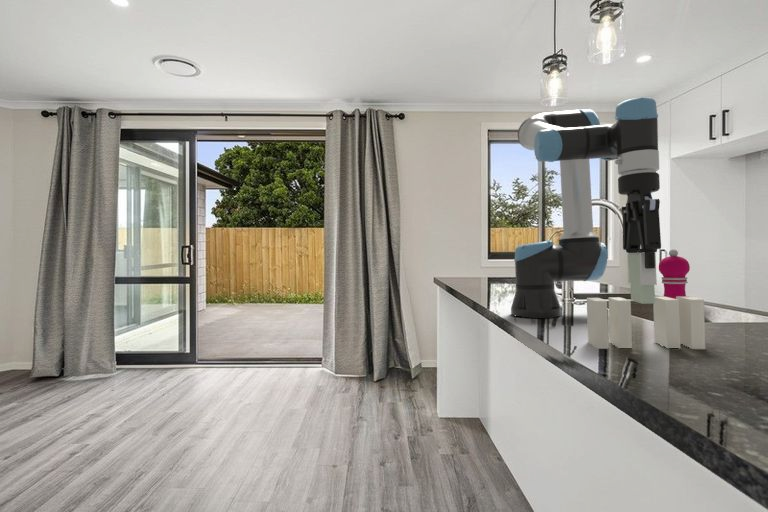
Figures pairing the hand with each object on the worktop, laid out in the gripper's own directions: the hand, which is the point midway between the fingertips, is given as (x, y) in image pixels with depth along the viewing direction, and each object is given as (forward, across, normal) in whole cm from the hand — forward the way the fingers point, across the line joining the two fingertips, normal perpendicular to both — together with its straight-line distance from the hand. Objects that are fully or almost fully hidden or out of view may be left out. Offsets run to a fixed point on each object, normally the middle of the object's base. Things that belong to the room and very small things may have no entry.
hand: (641, 283), depth 91 cm
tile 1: (+13, 0, -9) cm, 16 cm away
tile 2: (+13, 0, -4) cm, 14 cm away
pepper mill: (+13, -11, +11) cm, 21 cm away
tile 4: (+13, 0, +4) cm, 14 cm away
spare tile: (+4, 0, 0) cm, 4 cm away
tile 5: (+13, 0, +9) cm, 16 cm away
